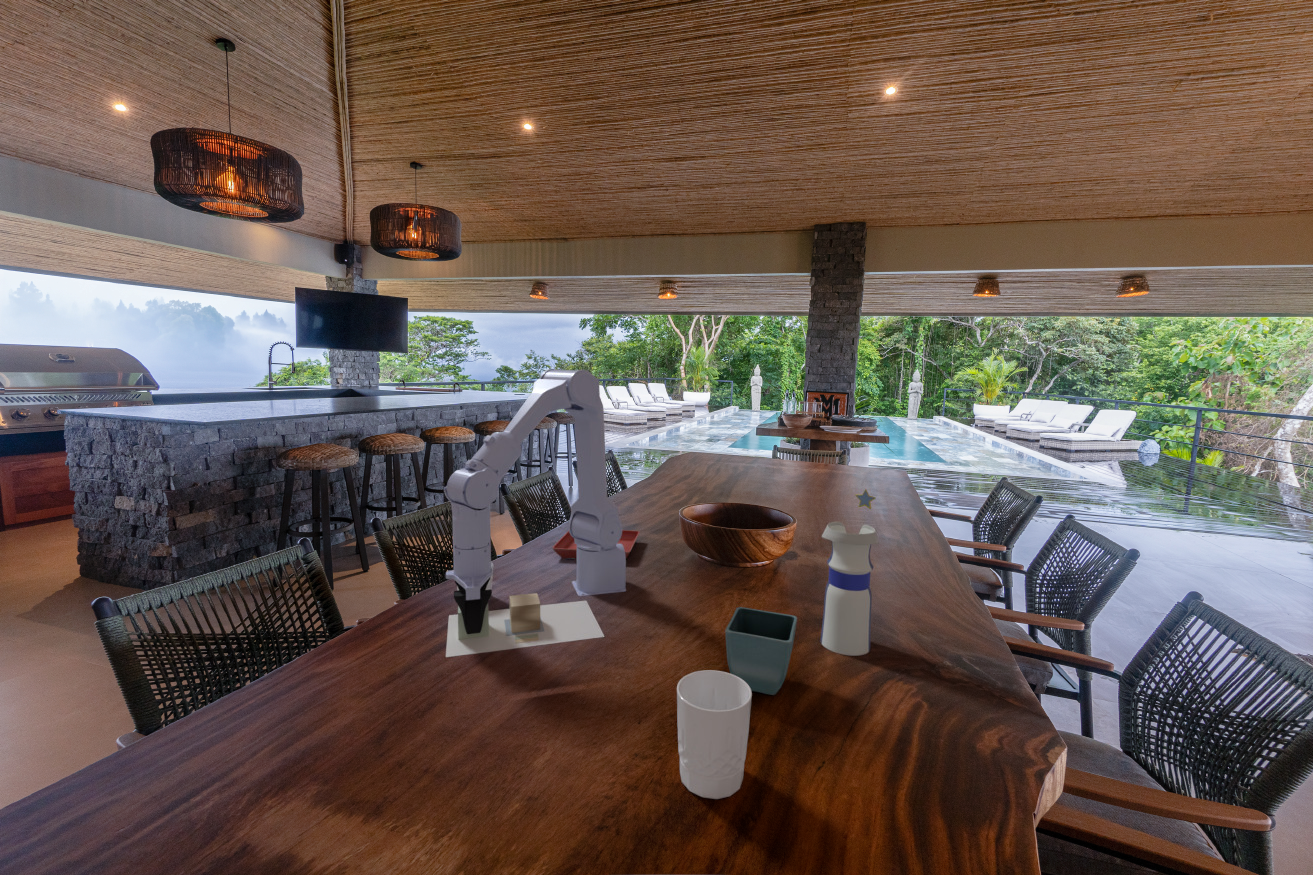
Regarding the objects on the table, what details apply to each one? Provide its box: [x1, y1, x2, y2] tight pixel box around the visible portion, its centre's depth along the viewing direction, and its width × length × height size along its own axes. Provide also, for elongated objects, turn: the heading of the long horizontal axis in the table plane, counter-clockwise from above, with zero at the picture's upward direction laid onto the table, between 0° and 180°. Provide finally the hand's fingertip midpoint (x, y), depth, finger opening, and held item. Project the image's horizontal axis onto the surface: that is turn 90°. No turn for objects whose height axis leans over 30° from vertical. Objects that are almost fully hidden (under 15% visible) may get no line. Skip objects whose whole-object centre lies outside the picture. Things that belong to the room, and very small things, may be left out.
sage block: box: [457, 602, 490, 640], centre depth 92 cm, size 5×5×4 cm
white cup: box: [676, 669, 753, 800], centre depth 61 cm, size 8×8×10 cm
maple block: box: [509, 592, 541, 633], centre depth 95 cm, size 5×5×4 cm
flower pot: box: [724, 606, 798, 696], centre depth 79 cm, size 9×9×9 cm
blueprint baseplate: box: [445, 600, 605, 658], centre depth 95 cm, size 24×15×1 cm, turn 108°
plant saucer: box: [552, 529, 641, 560], centre depth 137 cm, size 18×18×3 cm
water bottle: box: [820, 488, 880, 657], centre depth 91 cm, size 8×9×25 cm
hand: (473, 625), depth 92 cm, fingers closed on sage block, 5 cm apart
